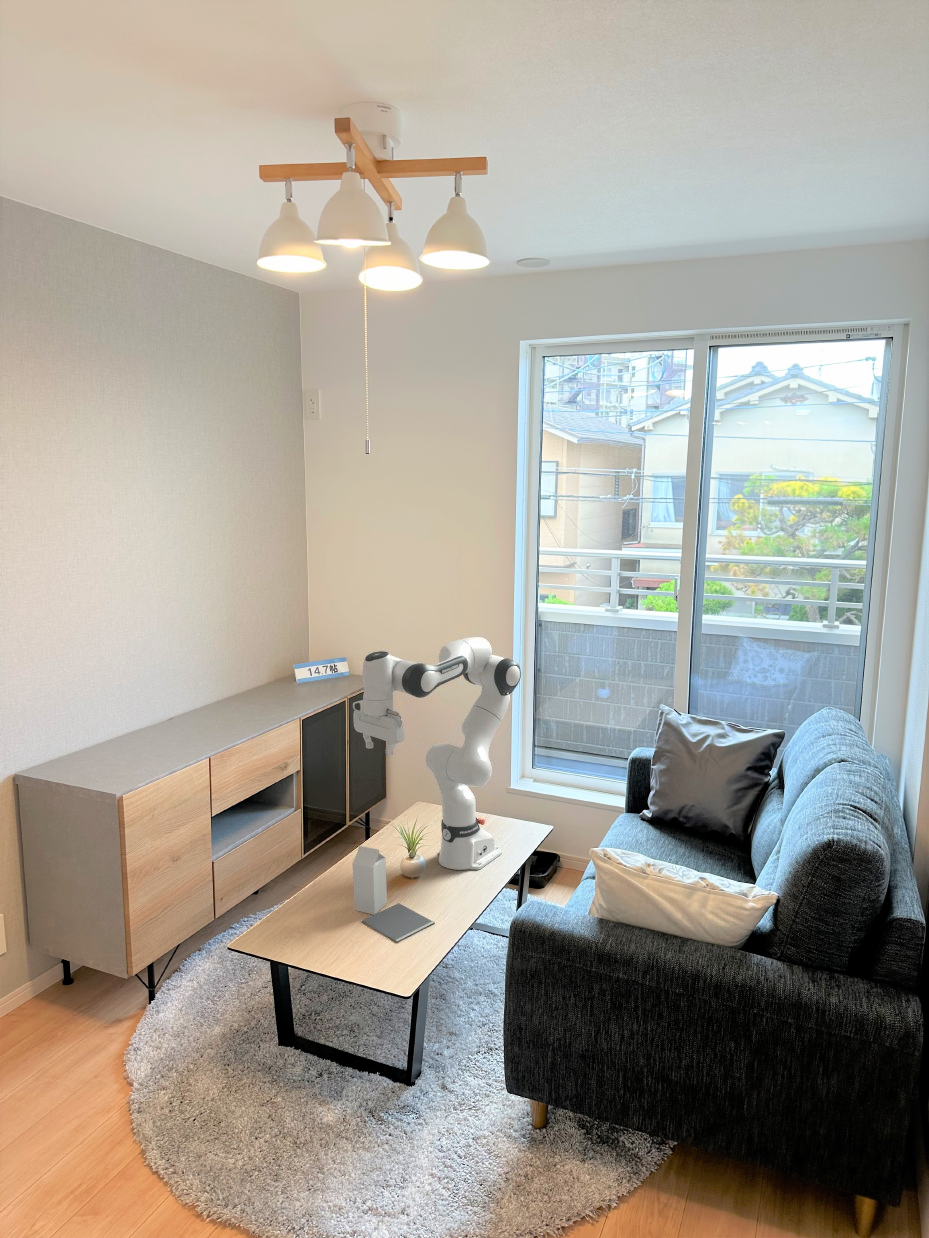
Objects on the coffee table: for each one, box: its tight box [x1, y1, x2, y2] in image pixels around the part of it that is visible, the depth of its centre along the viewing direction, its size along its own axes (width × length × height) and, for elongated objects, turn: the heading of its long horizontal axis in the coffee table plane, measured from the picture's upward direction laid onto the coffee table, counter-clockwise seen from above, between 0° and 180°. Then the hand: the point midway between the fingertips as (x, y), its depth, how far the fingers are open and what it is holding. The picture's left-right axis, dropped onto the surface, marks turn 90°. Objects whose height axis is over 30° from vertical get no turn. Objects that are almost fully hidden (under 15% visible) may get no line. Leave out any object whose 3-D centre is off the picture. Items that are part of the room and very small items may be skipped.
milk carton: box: [352, 845, 388, 915], centre depth 246 cm, size 7×7×19 cm
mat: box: [361, 902, 435, 944], centre depth 239 cm, size 14×16×1 cm
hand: (379, 751), depth 248 cm, fingers open, 8 cm apart
